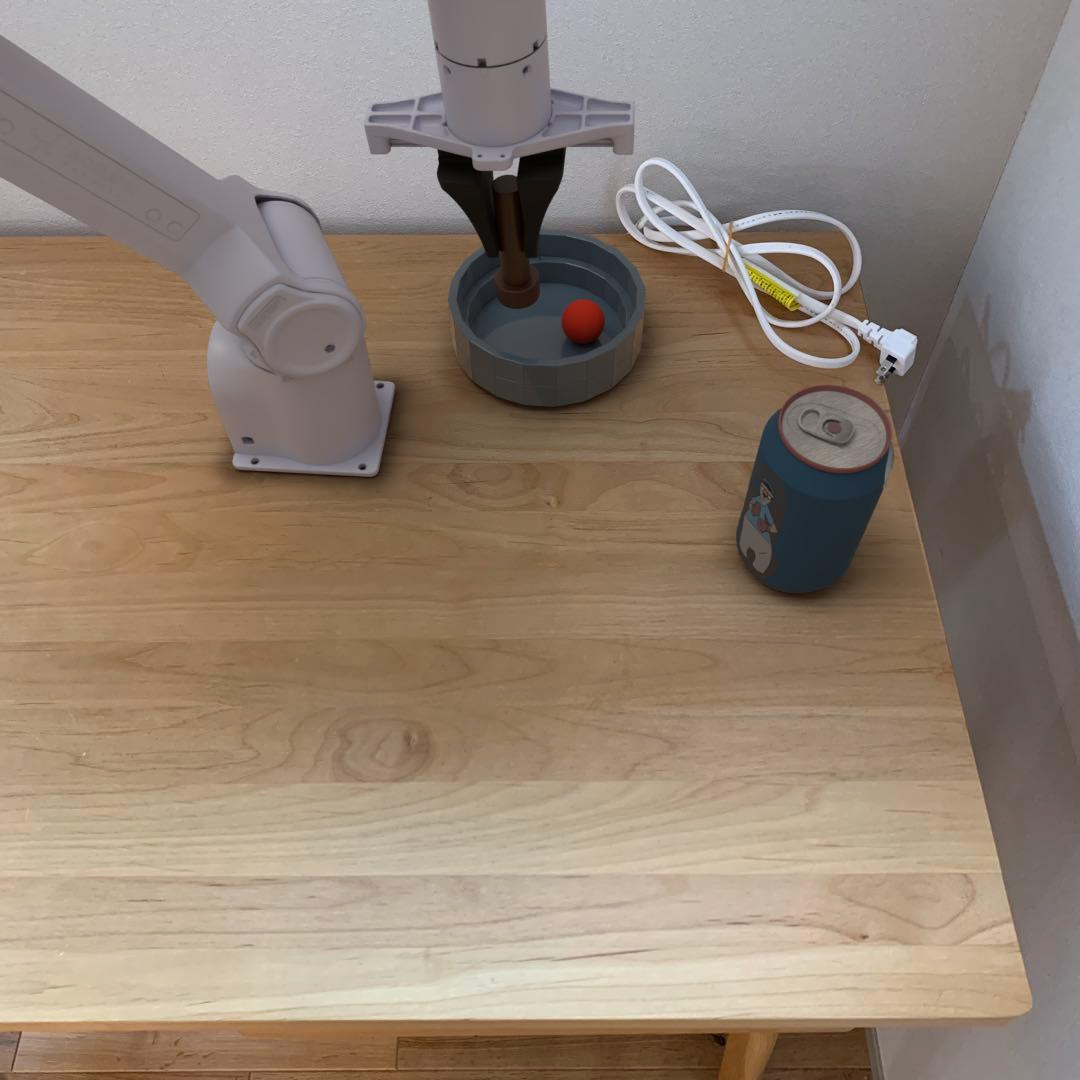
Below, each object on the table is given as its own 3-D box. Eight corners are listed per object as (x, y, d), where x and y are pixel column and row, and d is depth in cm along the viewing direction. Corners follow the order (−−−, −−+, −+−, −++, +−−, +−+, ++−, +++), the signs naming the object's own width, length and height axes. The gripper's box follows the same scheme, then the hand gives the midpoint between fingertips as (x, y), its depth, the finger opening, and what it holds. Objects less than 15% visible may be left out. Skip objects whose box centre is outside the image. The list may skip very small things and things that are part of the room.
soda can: (864, 536, 63) (922, 406, 53) (822, 622, 60) (877, 499, 50) (759, 492, 65) (797, 358, 55) (714, 572, 62) (745, 444, 52)
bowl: (443, 407, 69) (436, 360, 66) (465, 274, 77) (460, 225, 73) (638, 417, 69) (643, 370, 65) (641, 282, 76) (646, 233, 72)
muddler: (494, 309, 65) (479, 200, 58) (499, 278, 67) (485, 168, 60) (538, 310, 65) (528, 200, 58) (542, 279, 67) (533, 168, 59)
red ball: (559, 351, 71) (560, 319, 69) (562, 321, 73) (562, 289, 70) (603, 353, 71) (604, 321, 69) (604, 323, 73) (606, 291, 70)
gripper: (333, 83, 50) (386, 291, 61) (632, 81, 48) (629, 294, 60) (359, 2, 54) (404, 212, 65) (637, -2, 52) (633, 213, 64)
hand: (513, 246), depth 63 cm, fingers closed on muddler, 2 cm apart
